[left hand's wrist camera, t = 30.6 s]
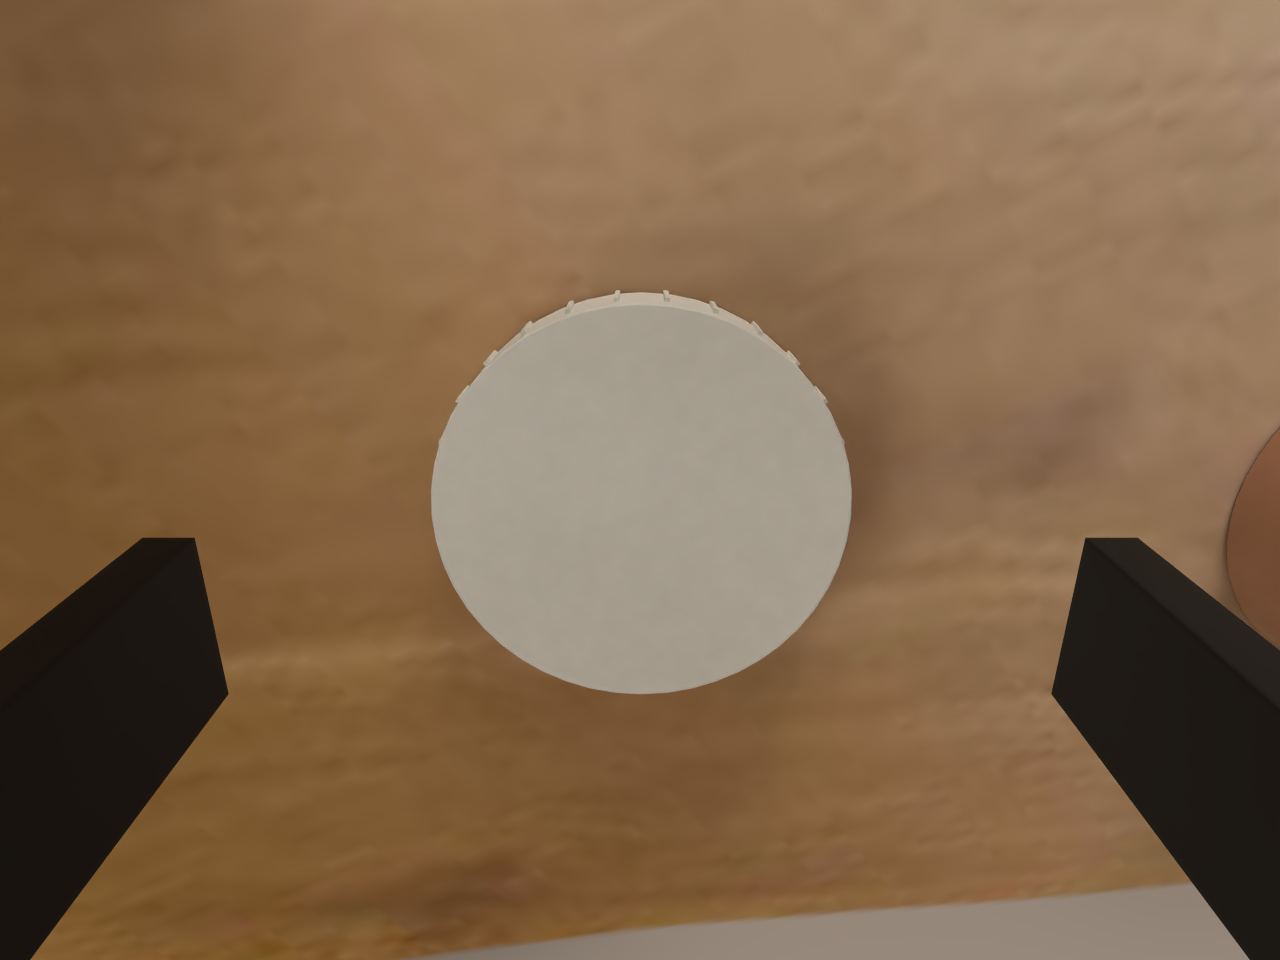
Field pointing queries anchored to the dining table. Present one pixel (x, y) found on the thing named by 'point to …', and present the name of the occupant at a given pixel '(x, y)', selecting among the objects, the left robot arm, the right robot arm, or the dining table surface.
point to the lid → (641, 494)
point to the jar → (1258, 543)
